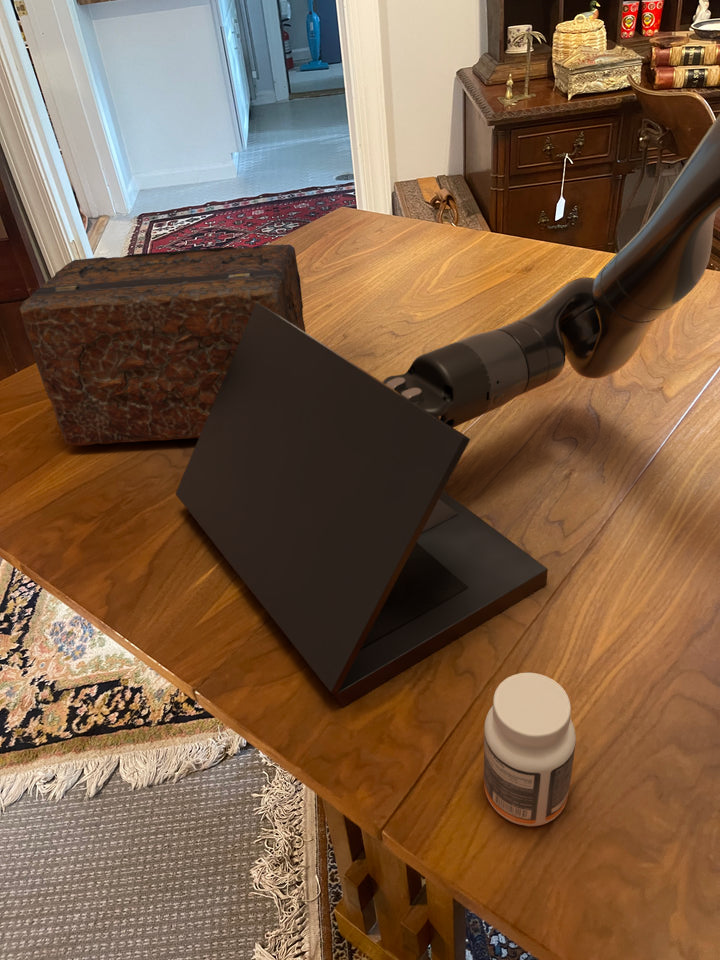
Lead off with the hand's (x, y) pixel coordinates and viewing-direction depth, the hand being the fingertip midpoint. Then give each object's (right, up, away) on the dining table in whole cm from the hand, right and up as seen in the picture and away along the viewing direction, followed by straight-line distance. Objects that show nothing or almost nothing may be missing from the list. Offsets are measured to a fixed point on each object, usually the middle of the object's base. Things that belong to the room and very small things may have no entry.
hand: (314, 442), depth 64 cm
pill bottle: (+15, -25, -14) cm, 32 cm away
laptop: (+3, -10, +9) cm, 13 cm away
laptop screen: (-2, -3, 0) cm, 3 cm away
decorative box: (-17, +5, +32) cm, 37 cm away
